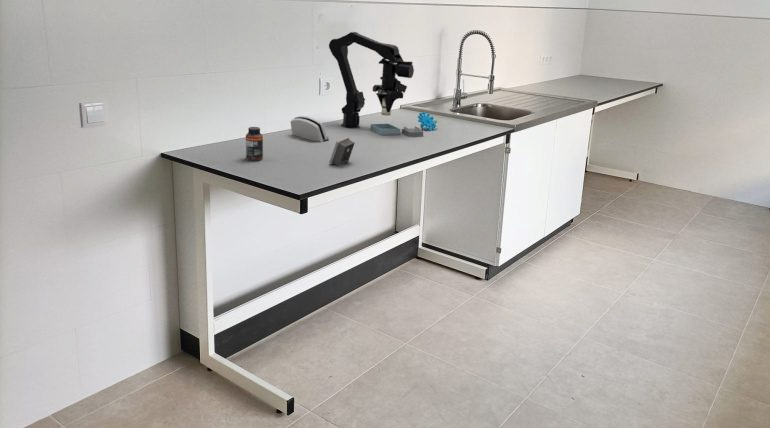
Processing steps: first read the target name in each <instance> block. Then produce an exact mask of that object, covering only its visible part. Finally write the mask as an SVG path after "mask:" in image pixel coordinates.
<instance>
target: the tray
mask: <svg viewBox="0 0 770 428" xmlns="http://www.w3.org/2000/svg"><path fill="white" fill-rule="evenodd" d="M370 130H371V131H372V132H374V133H375V134H378V135H379V136H393V135H394V136H395V135H398V136H399V135H400V134H401V129H400V128H399V127H397V126H395V125H392V124H391V123H373V124H372V123H370Z"/></svg>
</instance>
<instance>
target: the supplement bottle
mask: <svg viewBox="0 0 770 428" xmlns="http://www.w3.org/2000/svg"><path fill="white" fill-rule="evenodd" d="M263 138H264V137H263V134H262V133H261V128H260V127H258V126H249V127H248V132H247V133H246V134H245V159H246V160H248V161H251V162H252V161H254V162H259V161H261V160H263V158H264V139H263Z"/></svg>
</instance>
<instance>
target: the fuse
mask: <svg viewBox="0 0 770 428" xmlns="http://www.w3.org/2000/svg"><path fill="white" fill-rule="evenodd" d="M391 112H392V109H391V110H390V112H387V109H386V104H385V100H384V98H382V107H381V115H382V116H386V117H387V116H391V115H392V113H391Z"/></svg>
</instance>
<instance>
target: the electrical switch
mask: <svg viewBox="0 0 770 428" xmlns="http://www.w3.org/2000/svg"><path fill="white" fill-rule="evenodd" d="M355 144H356V143H355V142H354V141H352V140H351V139H350V137H349V136H345V137H343V138H340V139H338V140H336V141H335V144H334V148H333V150H332V153H331V156H330V159H329V164H330V165H333V164H334V165H336V166H338V167H340V166H342V165H344V164H346V163H347V162H349V161H350V158H351V156H352V153H353V152H352V151H353V150H354V146H355Z"/></svg>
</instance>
